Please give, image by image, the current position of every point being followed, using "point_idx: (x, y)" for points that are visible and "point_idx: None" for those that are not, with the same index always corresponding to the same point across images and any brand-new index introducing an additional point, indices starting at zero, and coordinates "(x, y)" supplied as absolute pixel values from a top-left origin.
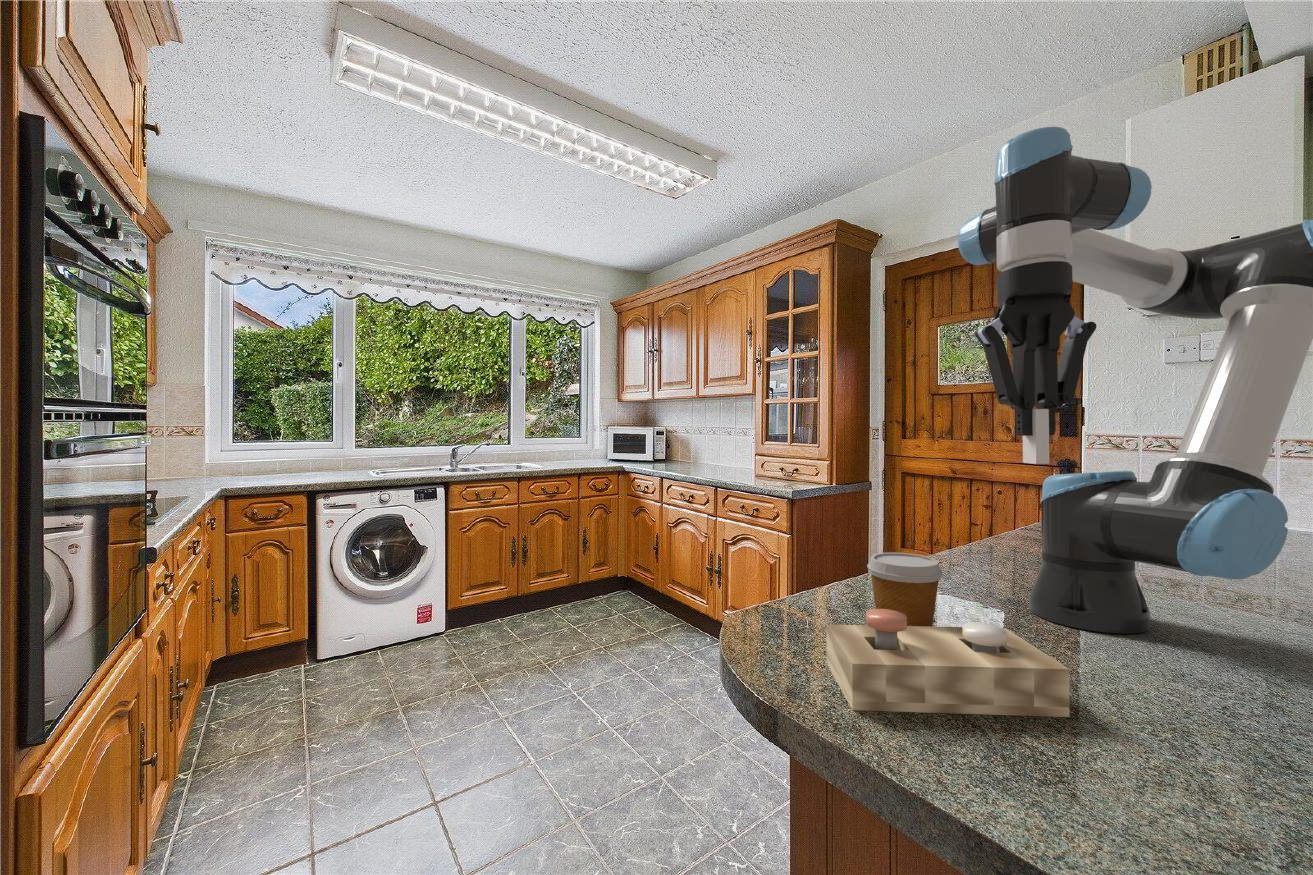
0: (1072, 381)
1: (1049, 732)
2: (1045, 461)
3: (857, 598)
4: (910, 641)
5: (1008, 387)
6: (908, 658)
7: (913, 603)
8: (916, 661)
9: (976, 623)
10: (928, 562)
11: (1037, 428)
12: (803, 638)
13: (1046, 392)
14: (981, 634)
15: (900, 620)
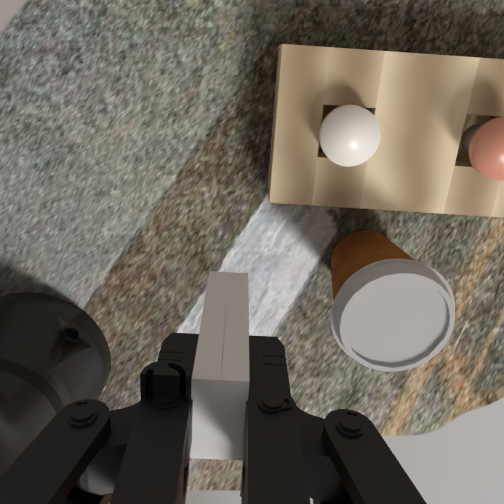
0: (28, 482)
1: (329, 6)
2: (219, 275)
3: None
4: (444, 149)
5: (391, 476)
6: (487, 84)
7: (391, 250)
8: (482, 73)
9: (347, 160)
10: (354, 316)
11: (241, 333)
12: (492, 283)
13: (184, 446)
14: (370, 113)
15: (500, 122)
